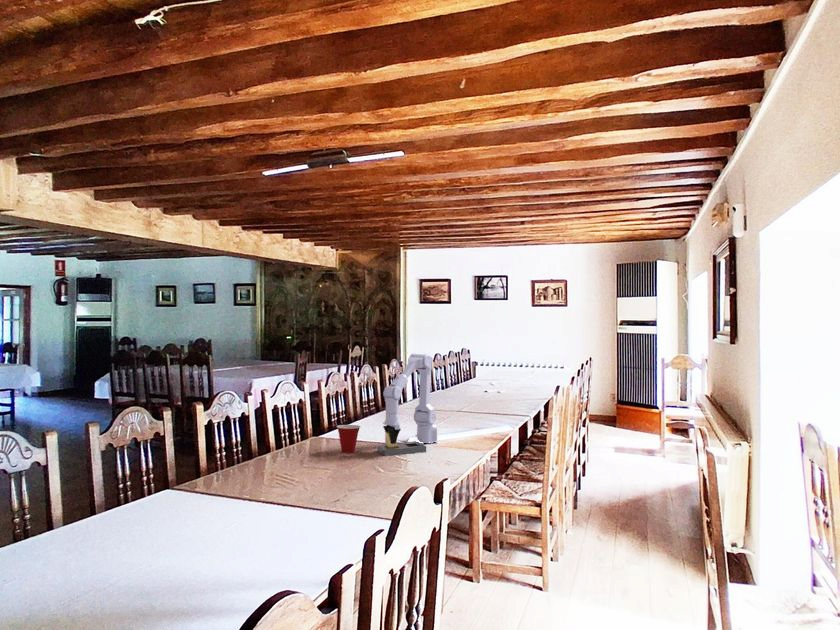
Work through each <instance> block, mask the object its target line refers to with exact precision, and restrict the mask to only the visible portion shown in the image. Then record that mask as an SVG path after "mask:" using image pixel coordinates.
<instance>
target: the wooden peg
mask: <svg viewBox="0 0 840 630" xmlns="http://www.w3.org/2000/svg"><path fill="white" fill-rule="evenodd" d="M384 432H385V431H384ZM384 438H385V440H384V445H385V447H386V448H388V449H390V448H397V444H398V443H397V441H396V444H391V441H390V434H389V432H385V434H384Z"/></svg>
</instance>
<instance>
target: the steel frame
mask: <svg viewBox="0 0 840 630" xmlns="http://www.w3.org/2000/svg"><path fill="white" fill-rule="evenodd" d="M377 451H378V452H379V453H380V452H381V453H380V454H382V455H383V456H384V455H389V456H397V455H396V454H399V455H406V454H405V453H410V454H416V453H415V452H421V453H427V446H426V445H425V444H421V443H419V442H415V441H412V442H402V443H401V442H400V443H397V448H390V449H388V448H386V447H385V444H379V445H377Z"/></svg>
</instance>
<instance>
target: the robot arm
mask: <svg viewBox="0 0 840 630" xmlns="http://www.w3.org/2000/svg"><path fill="white" fill-rule="evenodd" d="M432 367H433V358H432V356H431V355H430V354H428V353H426V354H423V353H421V354H420V353H411V354H410V355H409V357H408V359H407V364H406V366H405V367H404V368H403V371H402V372H401V373H399V374H397V375H396V376H395V378H394V379H393V380H392V382H391V384H390V385H387V386H385V387H384V389H383V393H382V394H383V398H384V402H385V419H384V422H382V424H383V426H382V427H383V429H384V432H389V434H390V441H391V444H396V441H397V440H398V437H399V433H401V429H402V428H400V427H401V425H400V424H399V399H400V398H401V397H402V392H403V389H404V388H405V386H406V385H407V383H408V379H409V377H410V376H411V375H412V374H413V373H414V372H415V370H417V371H418V372H419V398H418V400H419V402H418V405H417V406H416V407H415V409H414V412H413V413H414V414H413V420H414V422H415V424H416V427H417V429H416V431H417V432H416V440H417V439H418V440H419V441H420V442H423V443H421V444H423V445H425V444H424V443H429V442H430V443H431V444H434V443H433V442H436V441H437V442H438V427H437V425H436V424H435V422H436V420H437V419H436V413H435V412H436V409H435V408H434V407H433V406H432V405H431V385H432V384H431V383H432V382H431V381H432V370H433V368H432Z"/></svg>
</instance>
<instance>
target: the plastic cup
mask: <svg viewBox="0 0 840 630" xmlns="http://www.w3.org/2000/svg"><path fill="white" fill-rule="evenodd" d="M336 428H337V430H338V437H339V443H340V448H341V453H343V454H353V453H355V451H356V445H357V441H358V435H359V432H360V428H361V426H360V425H357V424H356V425H355V424H342V425H341V424H339V425H336Z"/></svg>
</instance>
